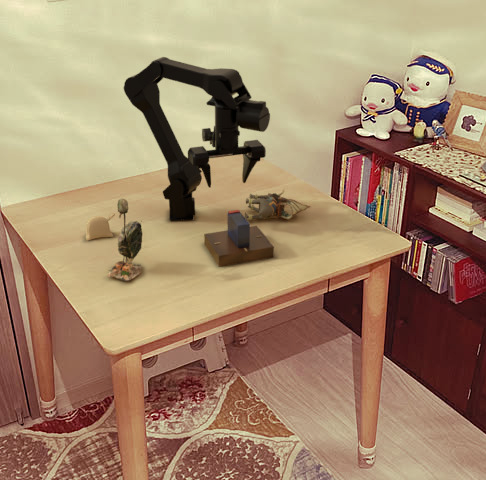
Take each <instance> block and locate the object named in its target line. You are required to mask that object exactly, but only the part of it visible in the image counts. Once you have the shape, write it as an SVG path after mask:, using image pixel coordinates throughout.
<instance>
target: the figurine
mask: <svg viewBox="0 0 486 480" xmlns="http://www.w3.org/2000/svg"><path fill="white" fill-rule="evenodd" d="M284 193H285V189H284V188H283V189H282V191H281V192H280V193H276V192H273V193H269V192H268V194H264V195H263V194H261V195H258V194H252V193H249V195H248V198H245V204H246V205H247V208H248V209H249V210H250V211H254V212H256V214H251V213H249V214H247V211H244V217H245V219H246V220H248V221H251V220H257V221H258V220H259V221H261V220H262V221H263V220H265V219H269V218H271V219H272V218H275V219H276V220H277V219H278V218H281V219H285V220H287V221H288V220H290V219H292V218H293V217H295V216H297V215H299V214H300V213H302V212H304V211H306V210H307V209H309V208H311V205H307V204H303V203H301V202H299V201H297V200H295V199H292V198H286V197H283V196H282V195H283V194H284ZM255 205H258V207H256V206H255ZM286 206H289V207H290V210H291V214H289V213H288V212H289V211H286V210H285V207H286Z"/></svg>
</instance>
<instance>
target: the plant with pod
mask: <svg viewBox="0 0 486 480" xmlns="http://www.w3.org/2000/svg"><path fill="white" fill-rule="evenodd" d="M116 204H117V206H116V207H117V212H118V213H119V215H118V218H119V219H121V218H122V215H123V227H122V228H121V229H120V232H119V234H118V237H117V243H116V244H117V250H118V253H119V254H120V255H121V256H123V257H124V258H123V260H121V261H120V260H119V261H118V262H116V263H115V264H114V265H112V266H111V268H110V269H109V270H108V273H107V275H106V277H108V278H109V277H110V278H112V277H114V278H116V279H117V280H120V281H122V282H129V281H131V280H133V279H134V278H136V277H137V276H139V275H140V274H141V272H142V270H141V269H142V265H141V264H133V261H134V259H135V258H136V257H137V255H138V254H139V253H140V251H141V250H142V243H143V227H142V224H141V223H140V222H143V220H140V222H139V221H138V220H136V221H135V220H130V221H128V222H127V221H126V218H127V217H126V214H128V212H129V202H128V200H126V198H120V199H118V200H117V203H116ZM126 222H127V223H126Z"/></svg>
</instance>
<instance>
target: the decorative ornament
mask: <svg viewBox="0 0 486 480" xmlns="http://www.w3.org/2000/svg"><path fill="white" fill-rule="evenodd" d="M115 216H116V213H112V214H110V215H109V216H108V217H107V218H106V217H104V216H102V215H97V216H92V217H91V218H89V219H88V221H87V223H86V228H85V230H86V231H85V232H86V234H85V239H86V241H91V240H94V239H98V238H105V237H106V238H107V237H108V238H113V237H114V234H113V233H112V231H111V228H110V223H109V221H111V219H113V218H114V217H115Z"/></svg>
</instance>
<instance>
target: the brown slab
mask: <svg viewBox="0 0 486 480" xmlns="http://www.w3.org/2000/svg"><path fill="white" fill-rule="evenodd" d="M203 234H204V235H203V241H204V242H203V243H204V246H205V248H206V249H207V251H208V252H209V254H210V256H212V258H213V260H214V261H215V263H216V265H217V266H218V267H226V266H233V265H238V264H243V263H250V262H254V261H255V262H256V261H261V260H268V259H273V258H274V257H275V256H274V255H275V245H274V244H273V243H271V241H270V240H269V238H267V236H266V235H265V234H264V233H263V231H262V230H261V229H260V228H259V226H257V225H250V246H248V247H242V248H238V247H237V246H236V245H235V243H234V242H233V240H232V239H231V238H230V236H229V235H228V229H227V230H221V231H213V232H209V233H203Z"/></svg>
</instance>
